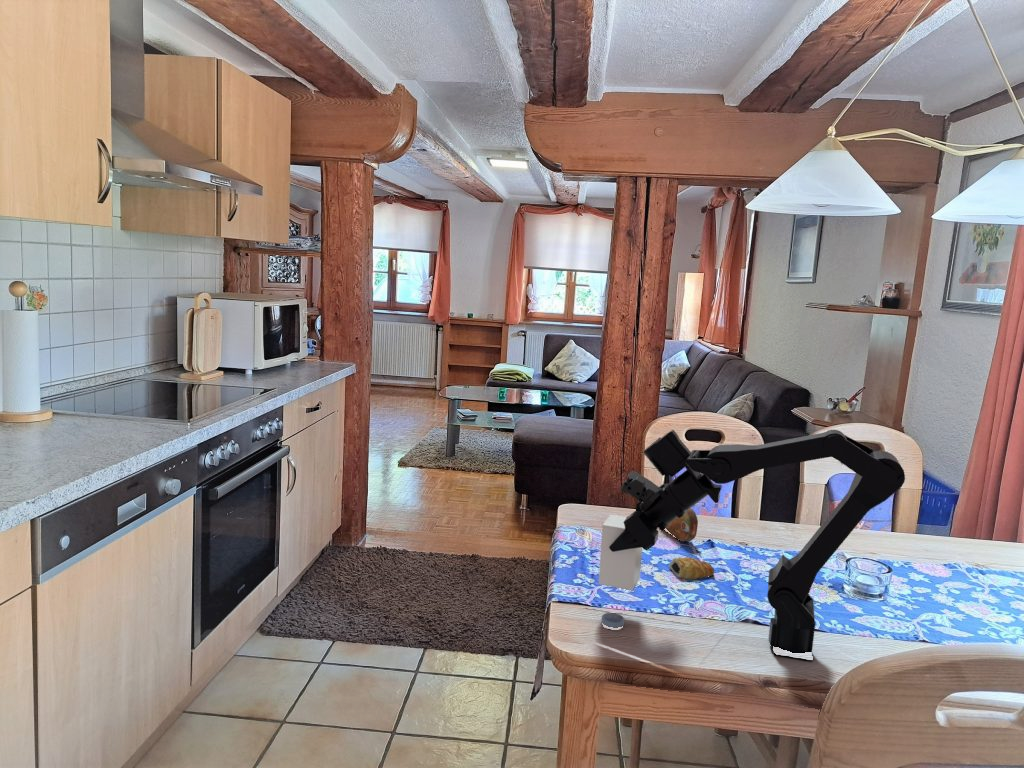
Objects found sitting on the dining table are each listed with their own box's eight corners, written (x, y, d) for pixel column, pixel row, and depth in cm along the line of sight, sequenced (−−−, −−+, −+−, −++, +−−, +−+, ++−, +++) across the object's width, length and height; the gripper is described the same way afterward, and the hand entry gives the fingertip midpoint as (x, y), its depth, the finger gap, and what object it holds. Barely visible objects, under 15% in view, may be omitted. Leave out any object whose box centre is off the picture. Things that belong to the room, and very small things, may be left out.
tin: (656, 525, 187) (658, 494, 186) (667, 524, 188) (669, 493, 187) (686, 547, 173) (689, 513, 172) (698, 546, 174) (701, 512, 173)
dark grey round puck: (624, 624, 132) (624, 614, 132) (622, 634, 129) (623, 624, 128) (602, 620, 133) (603, 611, 133) (600, 630, 129) (600, 620, 129)
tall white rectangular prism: (640, 577, 138) (644, 520, 136) (632, 590, 132) (637, 530, 130) (606, 571, 140) (610, 514, 138) (598, 584, 134) (602, 524, 132)
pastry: (703, 567, 161) (705, 551, 161) (720, 580, 155) (722, 563, 154) (666, 570, 159) (667, 553, 158) (681, 583, 152) (682, 566, 152)
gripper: (659, 450, 140) (599, 496, 145) (640, 472, 122) (573, 524, 128) (697, 495, 138) (635, 540, 144) (683, 524, 121) (614, 574, 126)
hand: (615, 543), depth 135 cm, fingers closed on tall white rectangular prism, 6 cm apart
